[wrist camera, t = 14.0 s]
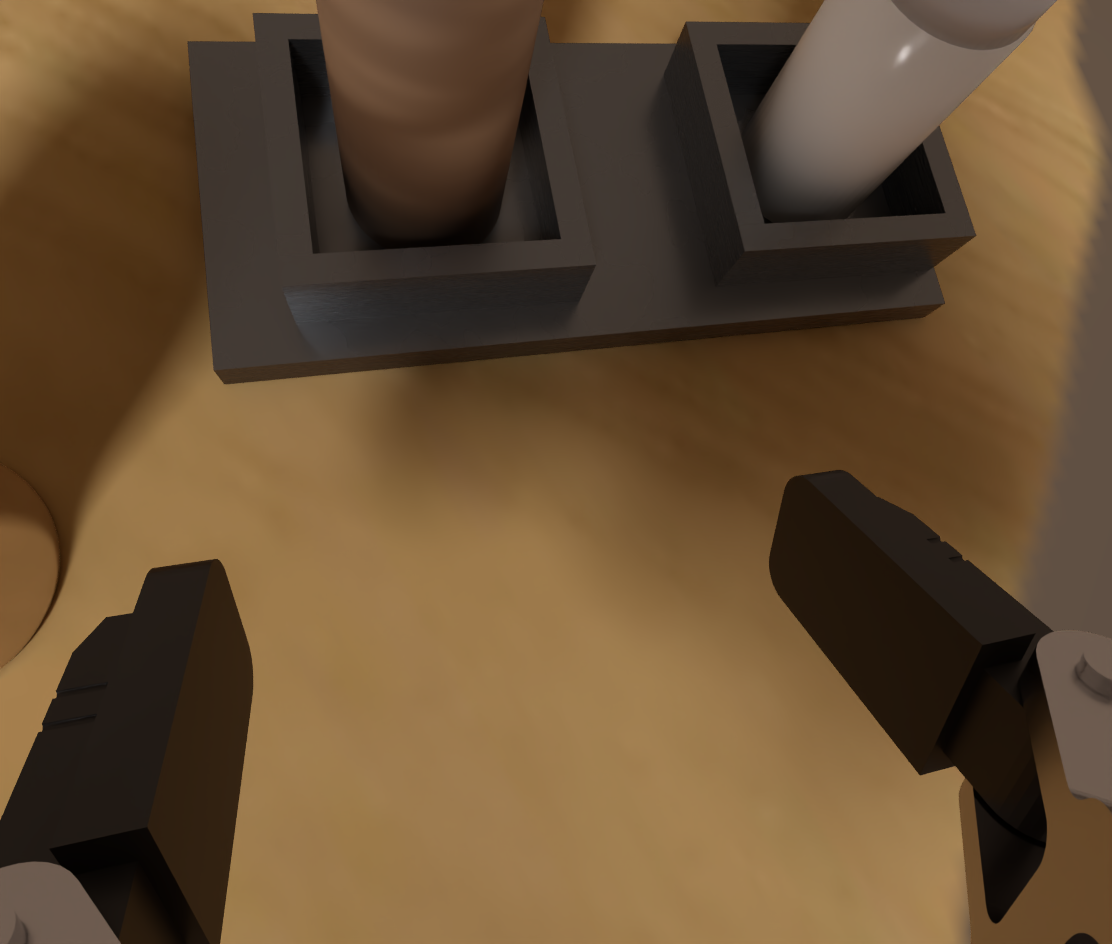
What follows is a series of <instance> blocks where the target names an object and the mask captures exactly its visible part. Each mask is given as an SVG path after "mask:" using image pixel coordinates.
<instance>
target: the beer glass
mask: <svg viewBox="0 0 1112 944" xmlns="http://www.w3.org/2000/svg"><path fill="white" fill-rule="evenodd" d="M59 571H60V545H59V539H58V534H57V530H56V527H55V524H54V521H53V519H52V517H51V514H50V512H49V510H48V508H47V507H46V505H45V503H44V502H43V500H42V499H41V498H40V496H39V495H38V494H37V492H36V491H35V490H34V489H33V488H32V487H31V486H30V485H29V484H28V483H27V482H26V481H25V480H24V479H23V478H22V477H20V476H19V475H18V474H16V473H15V472H14V471H12V470H11V469H9V468H8V467H6V466H4V465H2V464H0V669H1V668H2V667H4V666H5V665H6V664H7V663H8V662H9V661H11V660H12V659H13V658H14V657H15V656H16V655H17V654H18V653H19V652H20V651H21V650H22V648H23V647H24V646H25V645H26V644H27V643H28V641H29V640H30V639H31V637H32V636H33V635H34V633H35V632H36V630H37V629H38V627H39V626H40V624H41V623H42V621H43V619H44V617H45V615H46V613H47V611H48V609H49V607H50V605H51V602H52V599H53V597H54V594H55V590H56V587H57V583H58V578H59Z"/></svg>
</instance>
